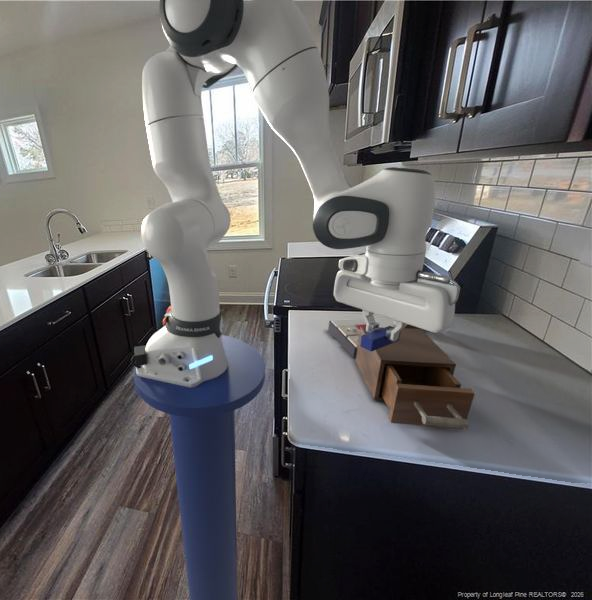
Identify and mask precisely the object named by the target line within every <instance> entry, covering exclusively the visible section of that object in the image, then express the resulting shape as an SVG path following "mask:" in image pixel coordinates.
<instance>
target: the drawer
mask: <svg viewBox="0 0 592 600" xmlns="http://www.w3.org/2000/svg"><path fill="white" fill-rule="evenodd" d="M380 393H381V395H382V397H383V399H384V401H383V402H384V403H385V405H386V406H387V409H388V410H389V414H388V420H389V422H390V423H391V424H398V425H399V424H400V425H410V426H419V427H431V428H442V429H452V430H461V431H463V430H465V429H469V427H470V422H469V420H468V416H469V413H470V410H471V407H472V403H473V400H474V398H475V394H476V392H475V391H473V389H471V388H467V387H466V388H465V387H462V384H461V382H460V381H459V380H458V379H457V378H456V377H455V376H454V374H453V375H452V374H451V373H450V372H449V371H448V370H447V369H446V368H445V367H432V366H415V365H398V364H385V366H384V371H383V377H382V382H381V387H380Z"/></svg>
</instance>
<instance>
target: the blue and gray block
mask: <svg viewBox="0 0 592 600" xmlns="http://www.w3.org/2000/svg"><path fill="white" fill-rule="evenodd" d="M391 328H393V329H394V328H395V327H394V326H392V325H388V326H384V327H382V328H381V329H378V330H376V331H373V332H370V333H367V334H365V335H362V337H361V344H360V346H361V347H363V348H365V349H367V350H369V351H371V352H372V351H374V350H377V349H379V348H382V347H384V346H387V345H389V344H392V343H394V342H396V341H399V338H400V333H401V331H400V333H399V338H398V339H397V340H396V341H391V340H388V339H386V338H385V336H386V331H387V330H390V329H391Z"/></svg>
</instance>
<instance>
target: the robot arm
mask: <svg viewBox="0 0 592 600" xmlns="http://www.w3.org/2000/svg"><path fill="white" fill-rule="evenodd" d="M158 7H159V19H160V24H161V27H162V31H163V34H164V35H165V38H166V40H167V41H168V43H169V46H168V48H166V49H165V50H164V51H161V52H158V53H156V54H154V55H152V56H151V57H150V58H149V59H148V60H147V61H146V63H145V64H144V66H143V69H142V75H141V81H142V82H141V89H142V90H141V92H142V93H141V94H142V106H143V115H144V123H145V128H146V129H145V130H146V136H147V140H148V147H149V151H150V157H151V163H152V167H153V171H154V173H155V175H156V176H157V177H158V178H159V179H160V180H161V182H162V183H163V184H164V186H165V187H166V189H167V191H168V194H169V196H170V198H171V201H172V202H167V203H163V204H162V205H160V206H159V207H157V208H155V209H154V210H152V211H151V212H149V213H148V214H147V215H146V216H145V218H144V219H143V221H142V223H141V228H140V236H141V241H142V244H143V247H144V248H145V250H146V251H147V253H148V254H149V255H150V256H151V257H152V258H154V259H155V260H156V261H158V262H159V264H160V265H161V267H162V269H163V270H162V271H163V272H164V274H165V277H166V281H167V284H168V291H169V299H170V305H169V306H168V308H167V309H166V313H165V314H164V316H163V319H162V327H161V328H160V329H158V330H157V331H155V332H154V333H153V334H152V335H151V336H150V338H149V339H148V341H147V343H146V345H139V346H138V345H137V346H134V347H133V349H134V351H133V352H134V354H133V355H132V357H131V359H130V363H131V365H132V367H134V368H135V367H136V373H137V375H138V376H140V377H144V378H149V379H153V380H158V381H163V382H167V383H172V384H176V385H181V386H186V387H191V388H192V387H196V386H198V385H199V384H201V383H202V382H204V381H207V380H210V379H213V378H216V377H218V376H219V375H221V374H222V373H223V372H224V371H225V370H226V369H227V367H228V360H227V358H226V355H225V352H224V348H223V343H222V336H221V335H223V315H222V310H221V308H220V283H219V282H220V281H219V278H218V276H217V274H215V273H214V271H213V270H212V268H211V265H210V261H209V258H208V248H211V247H212V246H215V245H217V244H218V243H219V242H220V241H221V240H222V239H223V238H224V237H225V236H226V234H227V233H228V232H229V229H230V227H231V222H232V221H231V220H232V219H231V213H230V211H229V207H227V205H226V204H225V203H224V201H223V200H222V197H221V194H220V191H219V189H218V186H217V185H218V184H217V183H216V179H215V177H214V173H213V170H212V166H211V162H210V155H209V147H208V142H207V133H206V126H205V118H204V110H203V103H202V102H203V101H202V91H203V88H204V89H208V88H211V87H212V86H213V85H215V84H216V83H218V82H219V81H221V80H223V79H226V78H227V77H228V76H230V75H231V74H233V73H234V72H235V71H236V70H237V69H238V68H240V70H241V71H242V72H243V74H244V76H245V78H246V80H247V83H248V85H249V89H250V90H251V92H252V95H253V98H254V100H255V103H256V105H257V106H258V109H259V110H260V112H261V114H262V115H263V117H264V119H265V120H266V122H267V124H268V125H269V126H270V128H271V129H272V130H273V131H274V133H275V134H276V135H277V136H278V137H279V138H281V140H282V141H284V142H285V143H286V145H287V146H288V147H289V148H290V149H291V151H292V152H293V153H294V154H295V156H296V157H297V159H298V161H299V164H300V166H301V168H302V171H303V173H304V175H305V177H306V180H307V182H308V186H309V188H310V191H311V192H312V195H313V201H314V205H313V206H314V207H313V220H312V230H313V233H314V236H315V238H316V239H317V240H318V242H319V243H321V245H323V246H325V247H327V248H329V249H331V250H348V249H356V248H362V247H365V252H362V253H358V254H353V255H349V256H347V257H344V258H343V257H342V258H341V259H339V261H338V268H339V271H338V272H337V273H336V276H335V280H334V285H333V297H334V299H335V301H336V302H338V303H340V304H341V303H342V304H343V305H347V306H351V307H353V308H356V309H360V310H362V311H361V315H362V318H364V320H365V322H366V323H367V325H366V331H367V332H373V331H376V330H378V327H380V323H379V322H376V319H375V317H374V314H375V315H378V316H382V317H384V318H387V319H390V320H393V325H394V326H395V327H394V329H393V328H391V329H390V330H387V331H386V336H385V338H386V339H388V340H391V341H396V340H397V339H398V338H399V333H400V331H401V330H402V329H403V328H404V327H406V326H407V325H408V324H409V325H412V326H415V327H418V328H421V329H424V330H423V331H428V332H431V333H435V334H440V333H442V332H445V331H446V330H448V329H450V328H451V327H452V326H453V324H454V321H455V312H456V303H457V301H458V300H459V295H460V292H461V285H459V284H458V282H456V281H455V280H454V279H452V277H451V276H449V275H444V274H436V273H432V272H428V271H425V270H424V271H423V269H424V263H425V259H426V254H427V243H426V238H427V234H428V232H429V230H430V228H431V226H432V222H433V218H434V217H433V216H434V210H435V204H436V203H435V202H436V190H437V189H436V187H437V186H436V180H435V177H434V176H433V174H431V173H430V172H429V171H427V170H423V169H418V168H407V167H396V166H392V167H391V166H390V167H386V168H382V170H380V171H379V172H378V173H377V174H375V175H373V176H372V177H370V178H368V179H366V180H364V181H363V182H361V183H359V184H357V185H354V186H351V184H350V183H349V182H348V180H347V179H346V177H345V175H344V172H343V169H342V167H341V164H340V161H339V158H338V155H337V153H336V150H335V148H334V145H333V142H332V137H331V130H330V92H329V85H328V79H327V75H326V69H325V66H324V63H323V59H322V55H321V54H320V50H319V48H318V45H317V43H316V41H315V40H316V39H315V38H314V35H313V33H312V31H311V29H310V26H309V25H308V22H307V21H306V19H305V16H304V15H303V14H302V12H301V10H300V9H299V7H298V6H297V4H296V3H295V1H294V0H250V1H245V0H159V6H158Z"/></svg>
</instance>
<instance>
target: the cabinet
mask: <svg viewBox="0 0 592 600" xmlns="http://www.w3.org/2000/svg"><path fill="white" fill-rule="evenodd" d="M381 328H383V327H381V326H379V327H378V329H381ZM367 333H370V332H367V331H366V327H360V334H359V341H358V348H357V355H356V359H355V363H356V366H357V368H358V370H359V372H360V374H361V376H362V378H363V380H364V382H365V385H366V387H367V389H368V391H369V393H370V395H371V397H372V400H373V401H379V402H385V401H384V399H383V397H382V395H381V393H380V387H381V382H382V377H383V371H384V366H385V364H398V365H415V366H432V367H445V368H446V369H447V370H448V371H449V372H450V373H451V374H452V375H453V376H454V373H455V370H456V367H457V364H456V362H454V360H453V359H452V358H451V357H450V356H448V354H447V353H446V352H445V351H444V350H443V349H442V348H441V347H440V346H439V345H438V344H437V343H436V342H434V340H433V339H432V338H431V337H430V336H429V335H428V334H427V333H426V332H425V330H422V329H410V328H403V329H402V330H401V333H400V338H399V341H396V342H394V343H392V344H389V345H387V346H384V347H382V348H379V349H377V350H374V351H372V352H371V351H369V350H367V349H365V348H363V347H361V346H360V344H361V337H362V335H365V334H367Z"/></svg>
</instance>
